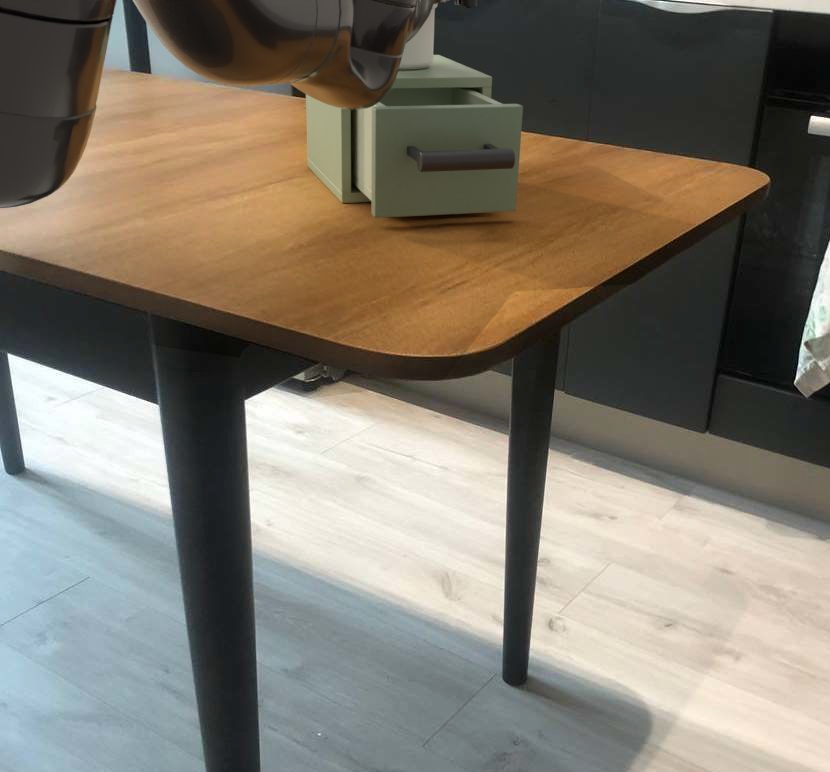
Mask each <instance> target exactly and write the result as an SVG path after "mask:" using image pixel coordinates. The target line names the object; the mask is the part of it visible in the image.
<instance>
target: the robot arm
mask: <svg viewBox="0 0 830 772" xmlns="http://www.w3.org/2000/svg"><path fill="white" fill-rule="evenodd" d="M117 1H118V0H0V209H9V208H17V207H21V206H25V205H29V204H33V203H35V202H38V201H40V200H43V199H45V198H47V197H49V196H51V195H52V194H54V193H55V192H57V191H59V189H60V188H62V187H63V186H64V185H65V184H66V183H67V182H68V181H69V179H70V178H71V176H72V175H73V174H74V173H75V171H76V169H77V168H78V165H79V164H80V161H81V159H82V158H83V155H84V153H85V150H86V147H87V144H88V142H89V138H90V135H91V131H92V128H93V123H94V119H95V116H96V112H97V102H98V97H99V92H100V87H101V82H102V76H103V70H104V67H105V60H106V56H107V50H108V44H109V40H110V34H111V29H112V24H113V18H114V14H115V8H116V5H117ZM448 1H449V0H132V2H133V4H134V5H135V6H136V9H137V10H138V12H139V13H140V15H141V16H142V18H143V20H144V22H146V24H147V25H148V27H149V28H150V30H151V31H152V32H153V34H154V35H155V36H156V37H157V39H158V40H159V42H160V43H161V44H162V45H163V47H165V49H166V50H167V51H168V52H169V53H170V54H171V55H172V56H173V57H174V58H175V59H176V60H177V61H179V62H180V63H181V64H182V65H183V66H184V67H186V68H187V69H189V70H191V71H192V72H194V73H195V74H197V75H199V76H201V77H202V78H204V79H207V80H210V81H213V82H215V83H219V84H222V85H226V86H235V87H260V86H270V85H271V86H272V85H282V84H290V85H291V86H292V87H294V88H296V89H297V90H298V91H300V92H302V93H303V94H305V96H306V95H308V96H310V97H312V98H314V99H316V100H318V101H320V102H323V103H325V104H328V105H330V106H334V107H337V108H341V109H348V110H360V109H366V108H369V107H372V106H374V105H376V104H377V103H378V102H380V101H381V100H382V99H383V98H384V97H385V96H386V95H387V94H388V92H389V91H390V89H391V88H392V86H393V84H394V82H395V79H396V77H397V74H398V70H399V67H400V63H401V59H402V54H403V51H404V48H405V44H406V43H407V42H409V41H410V40H411V39H412V38H413V37H414V36H415V35H416V34H417V33H418V31H419V30H420V29H421V27H422V26H423V24H424V23H425V21H426V20H427V18H428V16H429V15H430V12H431V10H432V9H435V10H436V8H438V4H439V3H447V2H448ZM454 5H455V6H461V7H465V9H473V7H478V0H454Z"/></svg>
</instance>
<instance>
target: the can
mask: <svg viewBox="0 0 830 772" xmlns="http://www.w3.org/2000/svg"><path fill="white" fill-rule="evenodd" d="M435 12H436V8H435V9H432V10H431V12H430V15H429V16H428V18H427V20H426V21H425V23H424V24H423V26H422V27H421V29H420V30H419V31H418V33H417V34H416V35H415V36H414V37H413V38H412V39H411V40H410V41H409V42H407V43H406V44H405V48H404V51H403V54H402V59H401V63H400V67H399V70H416V69H424V68H428V67H429V66H430V65H429V64H431V63H432V62H433V55H434V45H435V44H434V43H435V16H436V15H435Z"/></svg>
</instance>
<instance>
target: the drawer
mask: <svg viewBox="0 0 830 772" xmlns="http://www.w3.org/2000/svg"><path fill="white" fill-rule="evenodd" d="M523 113H524V106H523V105H522V104H519V103H502V102H499V101H497V100H495V99H493V98H492V97H491V98H489V97H487V96H484V95H482V94H480V93H478V92H476V91H474V90H472V89H469V88H411V89H390V91H389V92H388V94H387V95H386V96H385V97H384V98H383V99H382V100H381V101H380V102H378V103H377V104H376V105H374V106H372V107H369V108H366V109H360V110H351V182H352V183H353V184H354V185H355V186H356V187H357V188H358V189H359V190H360V191H361V192H362V193H364V194H365V195H366V196H367V197H368V198H369V199H370V200H371V201H372V202H370V203H371V205H370V206H371V207H370V209H371V211H370V212H371V215H372V217H374V218H375V219H379V218H382V219H383V218H401V217H402V218H403V217H423V216H425V217H426V216H444V215H445V216H446V215H464V214H467V215H468V214H484V213H486V214H488V213H507V212H508V213H509V212H510V213H511V212H516V211H517V199H518V185H519V171H520V159H521V157H520V156H521V143H522V142H521V141H522V127H523V126H522V125H523Z"/></svg>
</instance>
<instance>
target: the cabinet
mask: <svg viewBox="0 0 830 772" xmlns="http://www.w3.org/2000/svg"><path fill="white" fill-rule="evenodd" d="M429 65H430V66H429V67H428V68H424V69H416V70H398V74H397V77H396V79H395V82H394V84H393V86H392V88H391V89H411V88H469V89H472V90H474V91H476V92H478V93H480V94H482V95H484V96H487V97H489V98H491V99H492V89H493V88H492V87H493V77H492V76H491V75H488V74H486V73H484V72H482V71H479V70H477V69H474V68H472V67H469V66H467V65H464V64H462V63H459V62H457V61H455V60H452V59H451V58H447V57H445V56H442V55H441V54H433V62H432V63H431V64H429ZM305 107H306V108H305V115H306V117H305V119H306V121H305V122H306V157H307V159H306V160H307V161H306V162H307V168H309V170H310V171H312V173H313V174H314V175H315V176H316V177H317V178H318V179H319V180H320V181H321V182H322V184H324V186H325V187H326V188H327V189H328V190H329V191H330V192H331V193H332V194H333V196H335V198H337V199H338V200H339V202H341V204H351V203H352V204H353V203H371V202H372V201H371V200H370V199H369V198H368V197H367V196H366V195H365V194H364V193H362V192H361V191H360V190H359V189H358V188H357V187H356V186H355V185H354V184H353V183H352V182H351V110H348V109H341V108H337V107H334V106H330V105H328V104H325V103H323V102H320V101H318V100H316V99H314V98H312V97H310V96H308V95H306V94H305Z"/></svg>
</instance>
